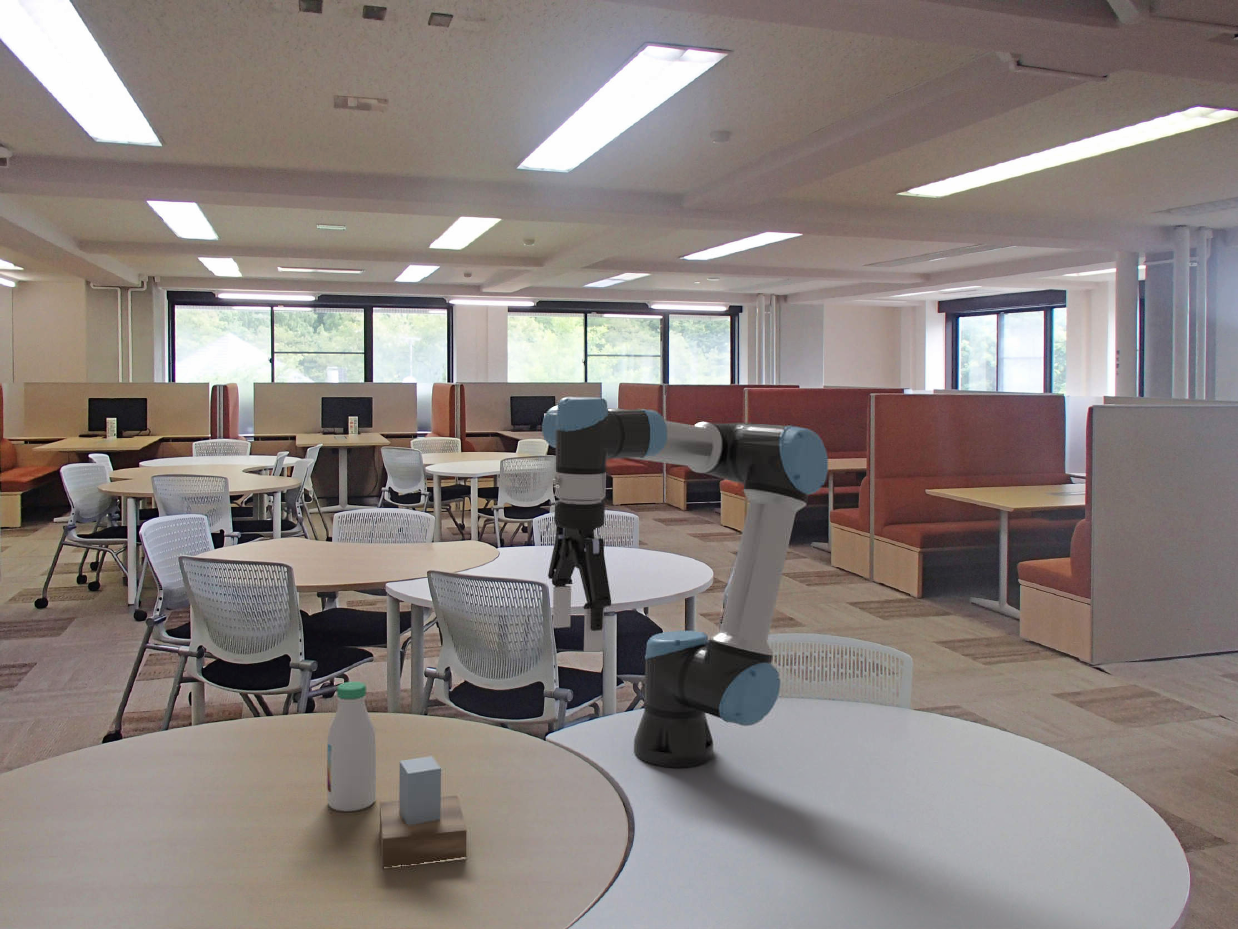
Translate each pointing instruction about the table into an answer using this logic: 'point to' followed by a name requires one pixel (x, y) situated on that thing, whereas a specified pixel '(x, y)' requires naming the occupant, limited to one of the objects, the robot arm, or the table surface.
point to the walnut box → (422, 835)
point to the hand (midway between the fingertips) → (576, 638)
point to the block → (420, 790)
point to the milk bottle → (351, 752)
